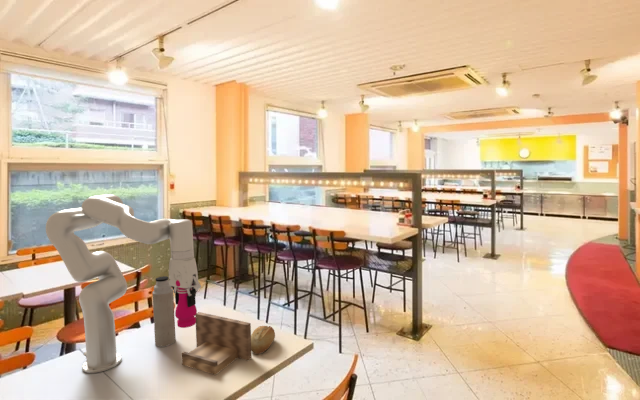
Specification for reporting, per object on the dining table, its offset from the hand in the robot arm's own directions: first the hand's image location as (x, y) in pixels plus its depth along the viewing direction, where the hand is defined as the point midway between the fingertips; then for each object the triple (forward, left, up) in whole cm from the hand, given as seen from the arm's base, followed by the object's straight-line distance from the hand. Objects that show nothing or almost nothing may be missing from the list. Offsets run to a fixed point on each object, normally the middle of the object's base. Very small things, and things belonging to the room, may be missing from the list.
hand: (185, 303), depth 126 cm
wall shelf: (+3, +9, -25) cm, 27 cm away
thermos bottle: (-25, +12, -25) cm, 37 cm away
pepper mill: (0, 0, -8) cm, 8 cm away
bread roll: (+15, +26, -25) cm, 39 cm away
